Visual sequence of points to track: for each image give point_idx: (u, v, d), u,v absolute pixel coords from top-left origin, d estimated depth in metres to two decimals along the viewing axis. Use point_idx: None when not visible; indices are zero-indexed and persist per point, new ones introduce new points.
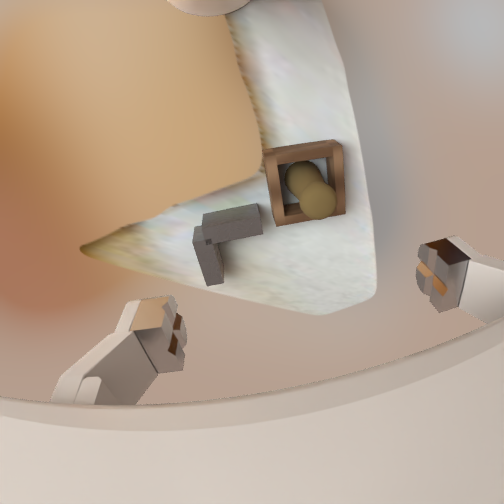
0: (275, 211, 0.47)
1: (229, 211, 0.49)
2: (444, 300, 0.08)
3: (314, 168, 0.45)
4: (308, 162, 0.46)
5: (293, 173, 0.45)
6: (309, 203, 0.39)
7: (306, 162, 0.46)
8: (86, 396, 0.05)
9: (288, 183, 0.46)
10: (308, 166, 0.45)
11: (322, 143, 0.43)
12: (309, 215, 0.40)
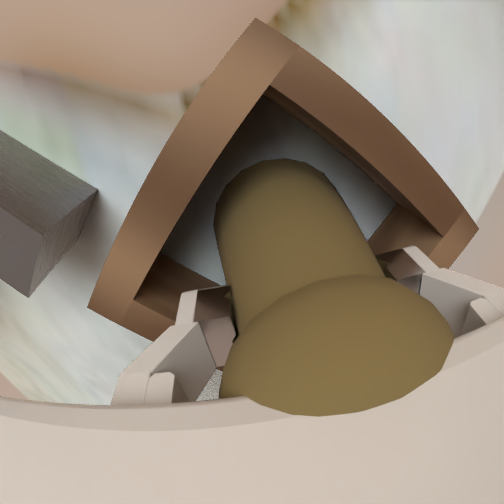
0: (113, 259, 0.10)
1: (17, 152, 0.10)
2: None
3: None
4: None
5: (284, 183, 0.10)
6: None
7: (336, 190, 0.12)
8: (159, 394, 0.05)
9: (234, 202, 0.11)
10: (343, 202, 0.11)
11: None
12: None
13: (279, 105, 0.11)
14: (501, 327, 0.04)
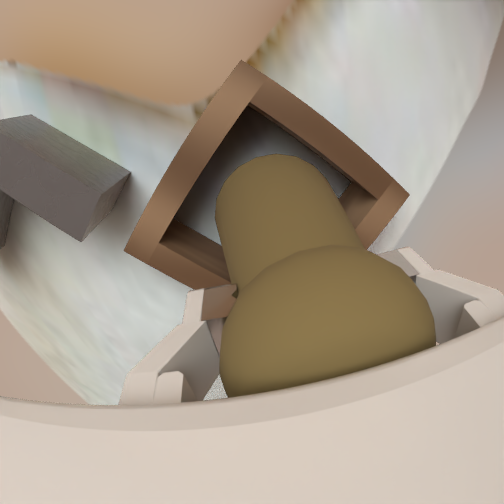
0: (147, 213, 0.15)
1: (68, 142, 0.15)
2: None
3: None
4: None
5: (275, 175, 0.11)
6: (304, 370, 0.05)
7: (325, 180, 0.14)
8: (168, 393, 0.05)
9: (232, 195, 0.12)
10: (331, 190, 0.12)
11: None
12: None
13: (260, 113, 0.17)
14: (501, 327, 0.04)
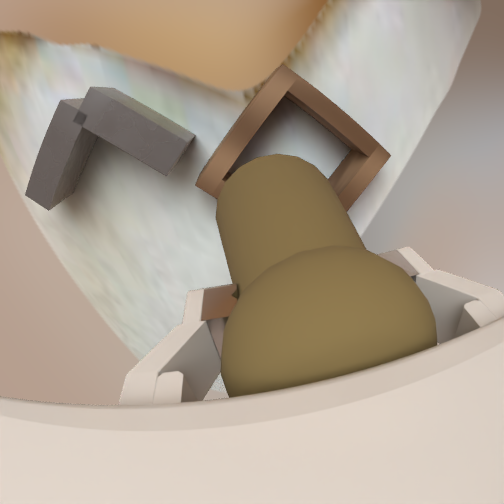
0: (216, 158, 0.22)
1: (149, 110, 0.23)
2: None
3: None
4: None
5: (276, 176, 0.11)
6: (306, 370, 0.05)
7: (326, 180, 0.13)
8: (168, 393, 0.05)
9: (233, 195, 0.12)
10: (332, 190, 0.12)
11: None
12: None
13: (289, 99, 0.24)
14: (501, 327, 0.04)
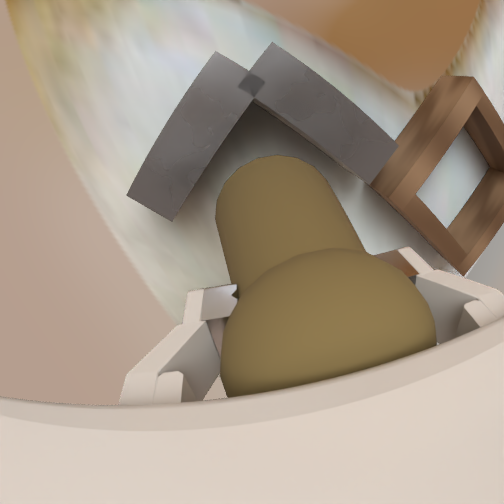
0: (414, 169, 0.17)
1: None
2: None
3: None
4: None
5: (275, 177, 0.11)
6: (305, 373, 0.05)
7: (326, 181, 0.13)
8: (168, 393, 0.05)
9: (232, 196, 0.12)
10: (331, 192, 0.12)
11: None
12: None
13: None
14: (501, 327, 0.04)
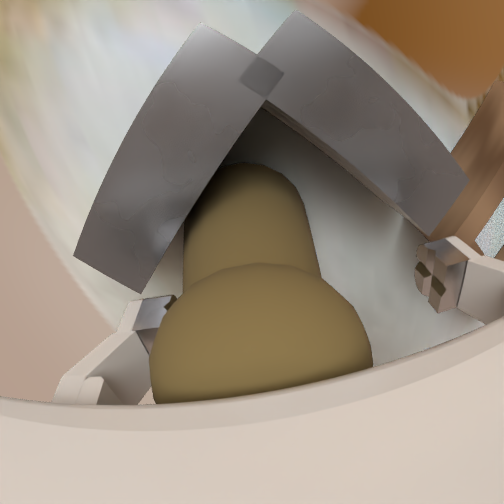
0: (477, 207, 0.11)
1: None
2: (442, 301, 0.08)
3: (307, 221, 0.13)
4: (298, 194, 0.14)
5: (234, 186, 0.11)
6: (206, 388, 0.05)
7: (292, 188, 0.14)
8: (88, 395, 0.05)
9: (194, 205, 0.12)
10: (294, 200, 0.12)
11: None
12: None
13: None
14: (501, 327, 0.04)
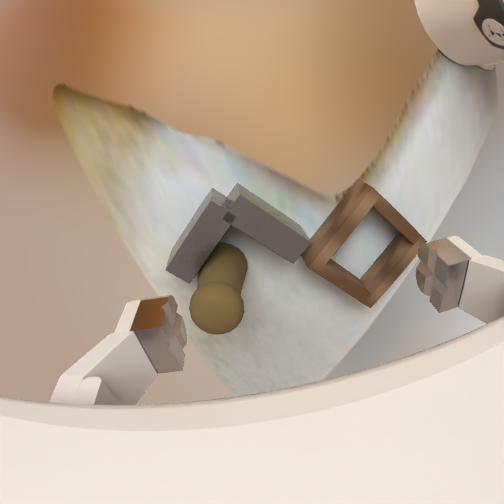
0: (324, 250, 0.33)
1: (270, 207, 0.34)
2: (444, 300, 0.08)
3: (240, 263, 0.35)
4: (239, 251, 0.36)
5: (211, 256, 0.34)
6: (199, 307, 0.27)
7: (235, 250, 0.36)
8: (86, 396, 0.05)
9: None
10: (233, 256, 0.34)
11: None
12: (194, 321, 0.28)
13: None
14: (501, 327, 0.04)
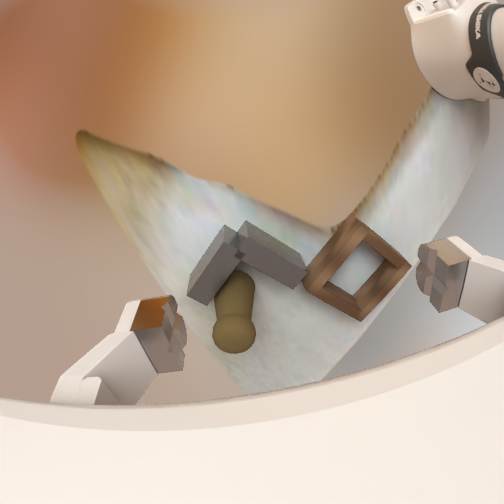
0: (319, 277, 0.40)
1: (274, 240, 0.40)
2: (444, 301, 0.08)
3: (248, 287, 0.41)
4: (246, 276, 0.42)
5: (223, 286, 0.40)
6: (221, 337, 0.34)
7: (243, 276, 0.42)
8: (86, 396, 0.05)
9: None
10: (242, 283, 0.41)
11: (395, 251, 0.41)
12: (218, 346, 0.35)
13: None
14: (501, 327, 0.04)
